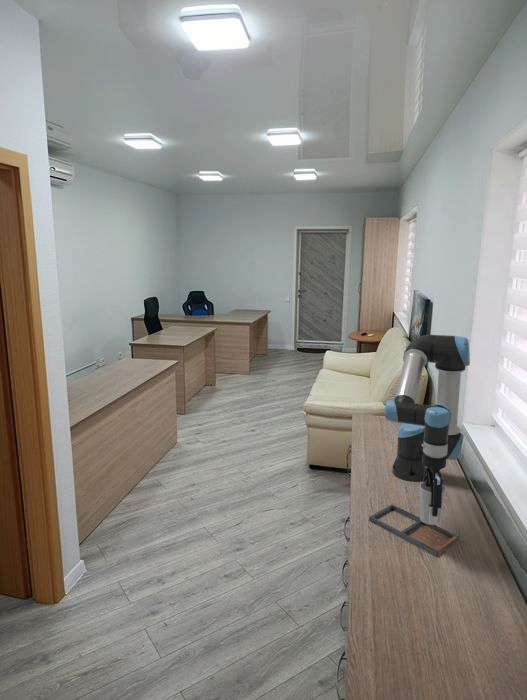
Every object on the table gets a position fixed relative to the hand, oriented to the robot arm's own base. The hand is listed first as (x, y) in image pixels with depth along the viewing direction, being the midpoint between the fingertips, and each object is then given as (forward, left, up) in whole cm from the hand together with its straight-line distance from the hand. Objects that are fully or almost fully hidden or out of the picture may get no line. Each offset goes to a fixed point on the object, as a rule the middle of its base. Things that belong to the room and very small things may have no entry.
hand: (429, 516), depth 153 cm
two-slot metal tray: (0, -7, -8) cm, 11 cm away
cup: (0, 0, -1) cm, 1 cm away
